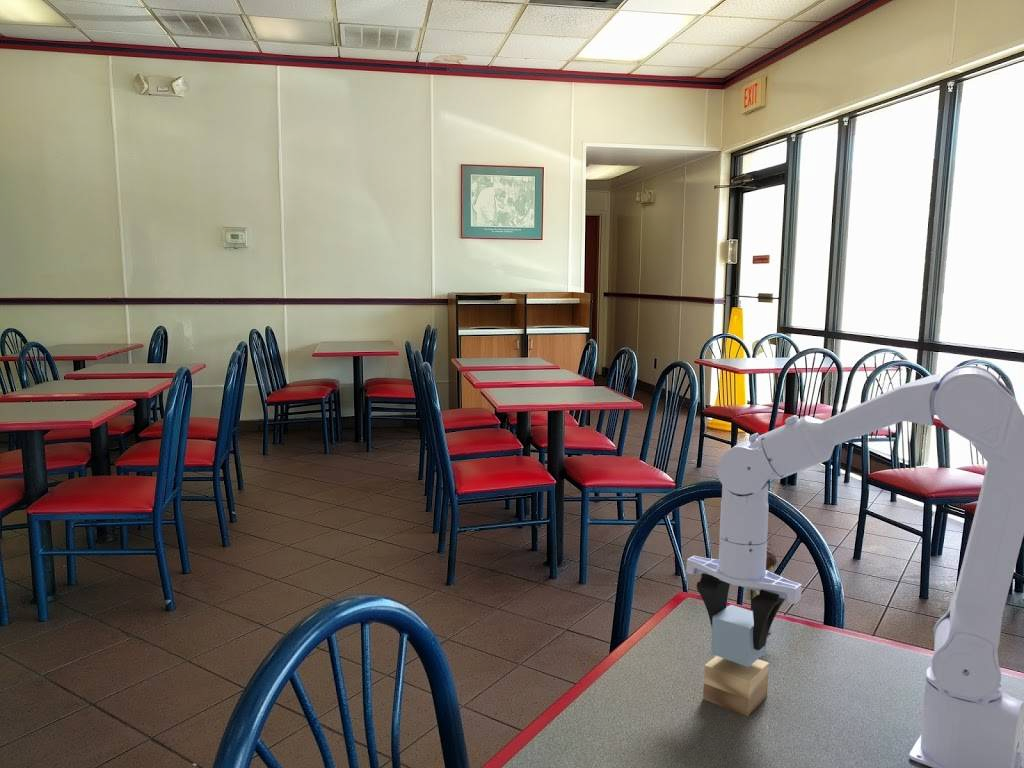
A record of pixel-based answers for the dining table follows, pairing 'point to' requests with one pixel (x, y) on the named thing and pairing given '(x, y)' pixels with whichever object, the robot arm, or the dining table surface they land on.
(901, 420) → the robot arm
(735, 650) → the cube
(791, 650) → the dining table surface
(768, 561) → the toy
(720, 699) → the lower slab
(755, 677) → the upper slab
